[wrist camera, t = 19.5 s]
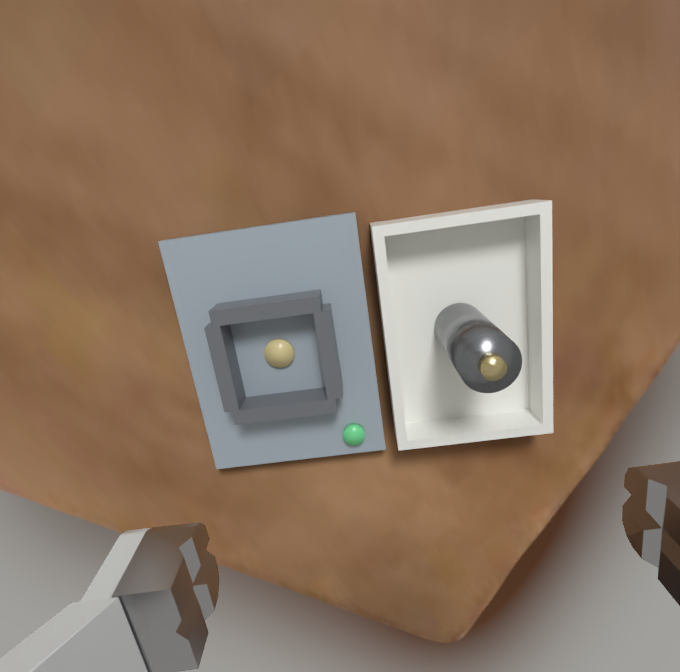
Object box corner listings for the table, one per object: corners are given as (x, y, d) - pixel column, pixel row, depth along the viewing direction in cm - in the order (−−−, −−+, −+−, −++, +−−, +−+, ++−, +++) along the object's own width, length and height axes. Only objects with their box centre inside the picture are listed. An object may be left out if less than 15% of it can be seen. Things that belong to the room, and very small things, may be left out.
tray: (369, 223, 36) (371, 226, 32) (532, 199, 35) (551, 200, 32) (394, 429, 41) (398, 450, 38) (536, 412, 40) (553, 432, 37)
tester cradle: (165, 239, 36) (144, 245, 33) (354, 211, 35) (355, 214, 32) (221, 459, 42) (208, 486, 38) (384, 440, 41) (388, 466, 38)
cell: (432, 306, 37) (459, 342, 28) (482, 299, 37) (526, 334, 28) (436, 353, 38) (463, 402, 29) (485, 346, 38) (527, 394, 29)
